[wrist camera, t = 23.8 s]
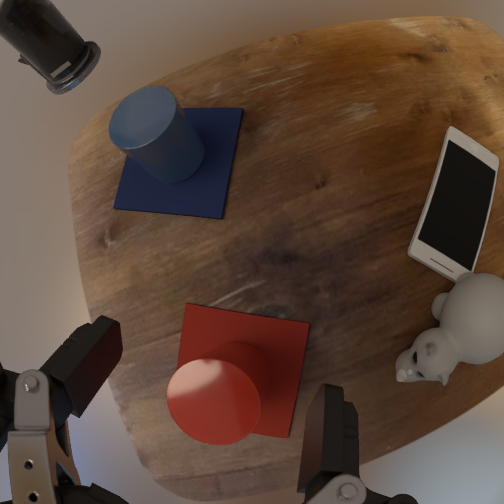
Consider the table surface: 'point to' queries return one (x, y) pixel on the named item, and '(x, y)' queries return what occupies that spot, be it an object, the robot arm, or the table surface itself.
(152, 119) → the grey-blue cylinder
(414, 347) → the toy rhinoceros
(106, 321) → the robot arm
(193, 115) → the blue mat
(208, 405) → the red cylinder
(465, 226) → the smartphone
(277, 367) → the red mat
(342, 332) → the table surface
